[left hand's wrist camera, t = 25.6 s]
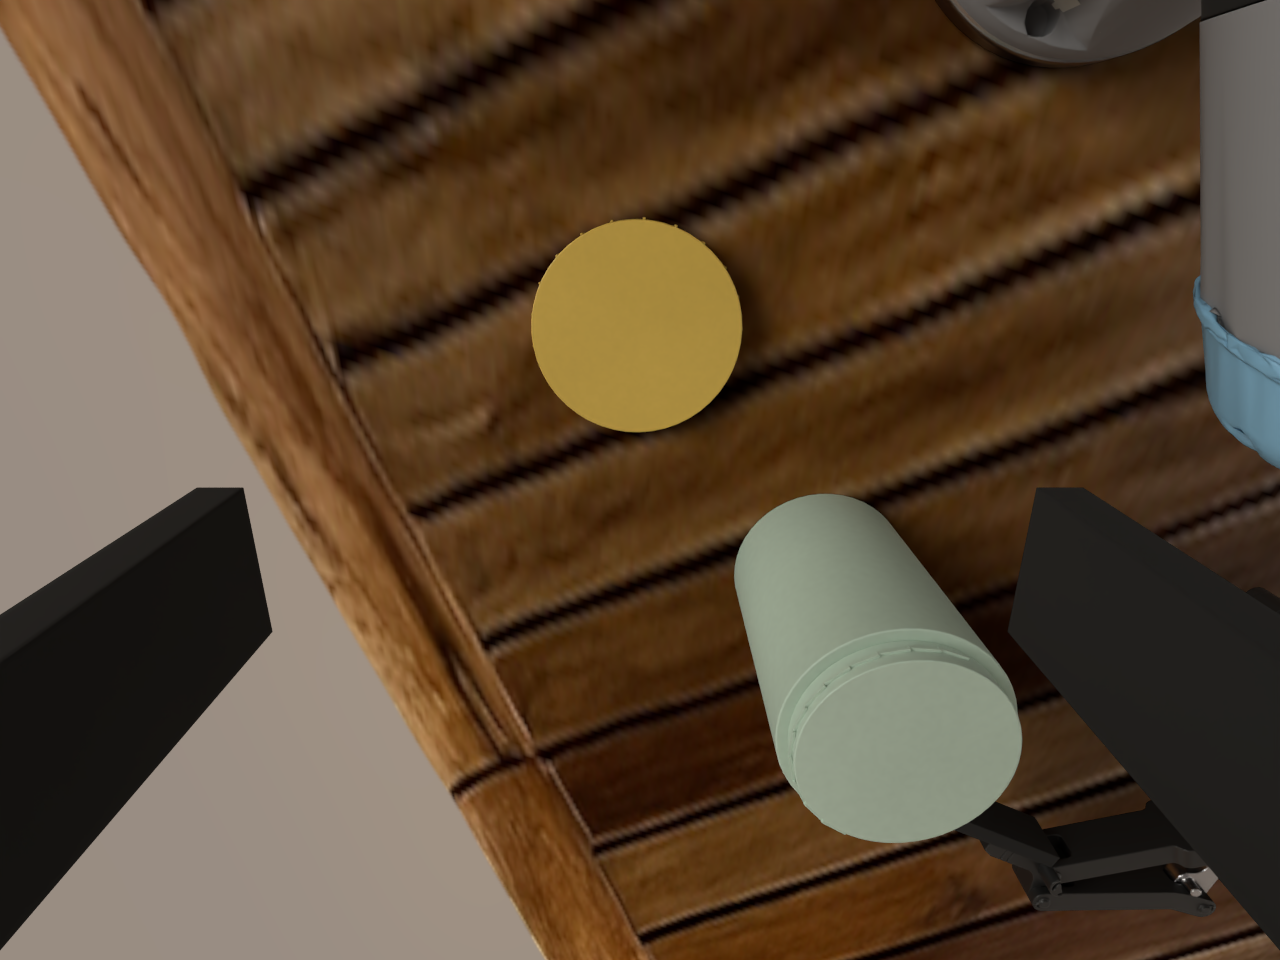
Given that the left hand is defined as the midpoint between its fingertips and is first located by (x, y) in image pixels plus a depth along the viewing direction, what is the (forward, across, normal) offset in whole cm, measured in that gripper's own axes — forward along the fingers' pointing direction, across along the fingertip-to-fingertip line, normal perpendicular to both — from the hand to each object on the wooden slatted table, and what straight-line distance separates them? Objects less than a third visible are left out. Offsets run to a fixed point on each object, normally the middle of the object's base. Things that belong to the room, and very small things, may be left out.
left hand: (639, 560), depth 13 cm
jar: (+26, +10, -14) cm, 31 cm away
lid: (+24, 0, 0) cm, 24 cm away
